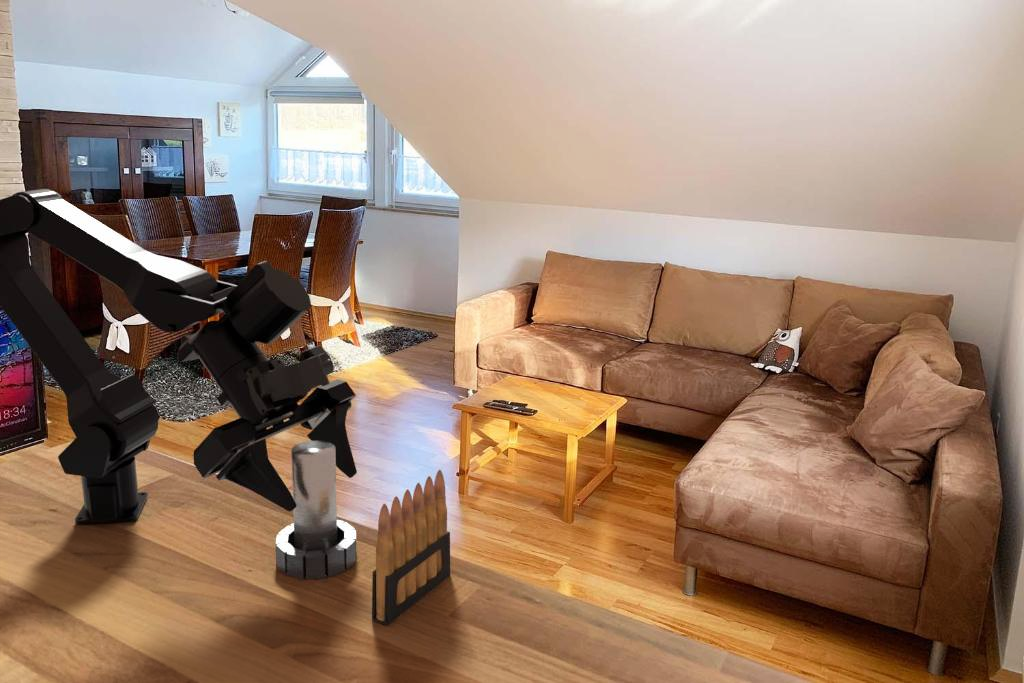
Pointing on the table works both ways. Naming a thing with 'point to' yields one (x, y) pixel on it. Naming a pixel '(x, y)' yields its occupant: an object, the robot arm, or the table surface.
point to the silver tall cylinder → (314, 495)
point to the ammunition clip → (410, 550)
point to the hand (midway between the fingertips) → (324, 491)
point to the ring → (316, 554)
